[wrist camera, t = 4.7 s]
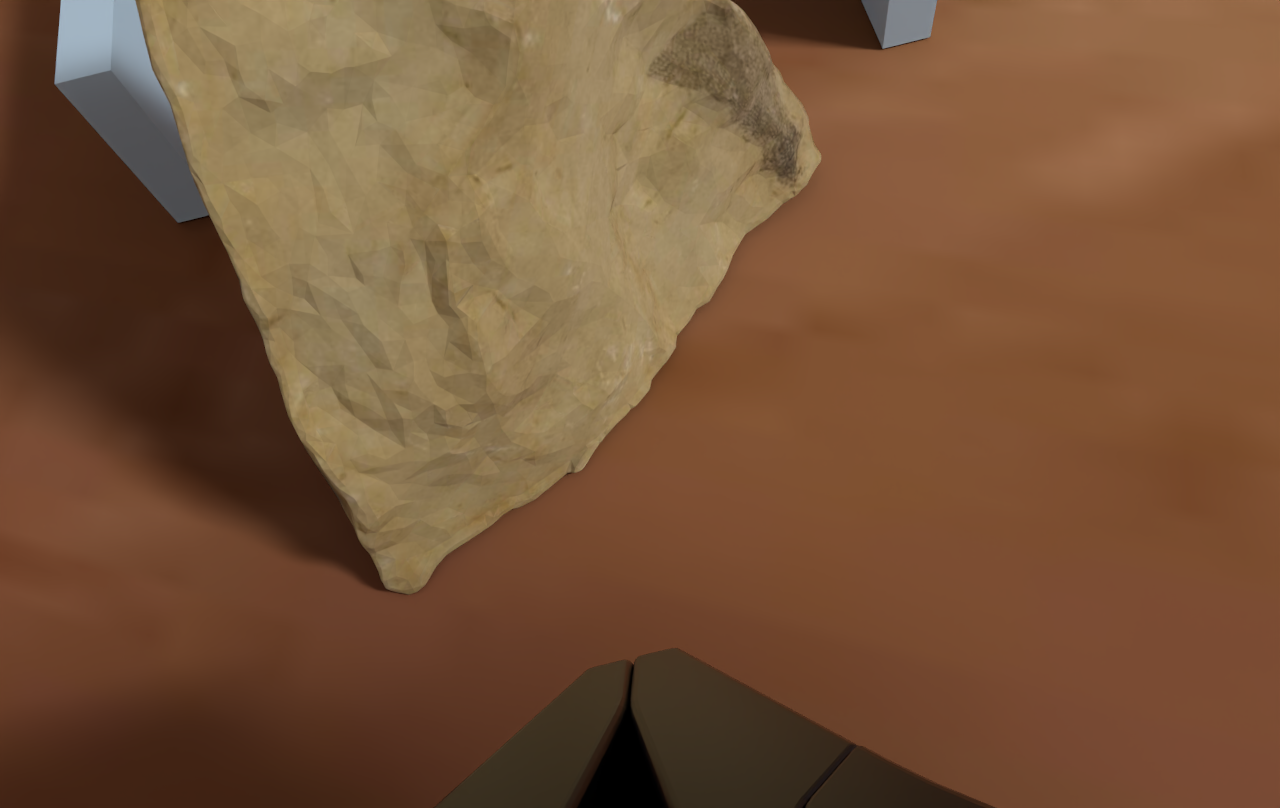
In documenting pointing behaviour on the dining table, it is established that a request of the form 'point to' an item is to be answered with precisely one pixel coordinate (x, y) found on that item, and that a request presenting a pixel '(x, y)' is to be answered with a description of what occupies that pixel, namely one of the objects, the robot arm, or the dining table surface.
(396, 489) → the rock
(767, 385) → the dining table surface
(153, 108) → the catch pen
